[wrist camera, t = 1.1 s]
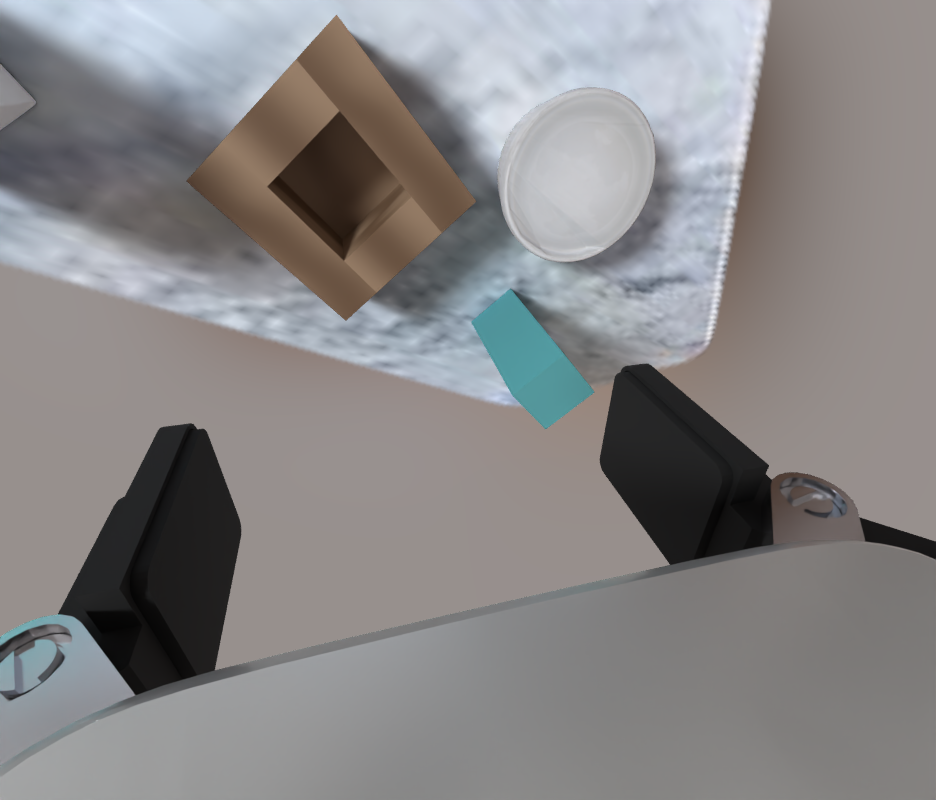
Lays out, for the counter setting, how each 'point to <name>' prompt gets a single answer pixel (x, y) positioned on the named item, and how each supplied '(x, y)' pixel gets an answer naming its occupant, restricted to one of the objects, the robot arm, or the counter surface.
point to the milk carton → (12, 99)
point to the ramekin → (576, 173)
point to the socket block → (334, 175)
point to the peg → (530, 360)
